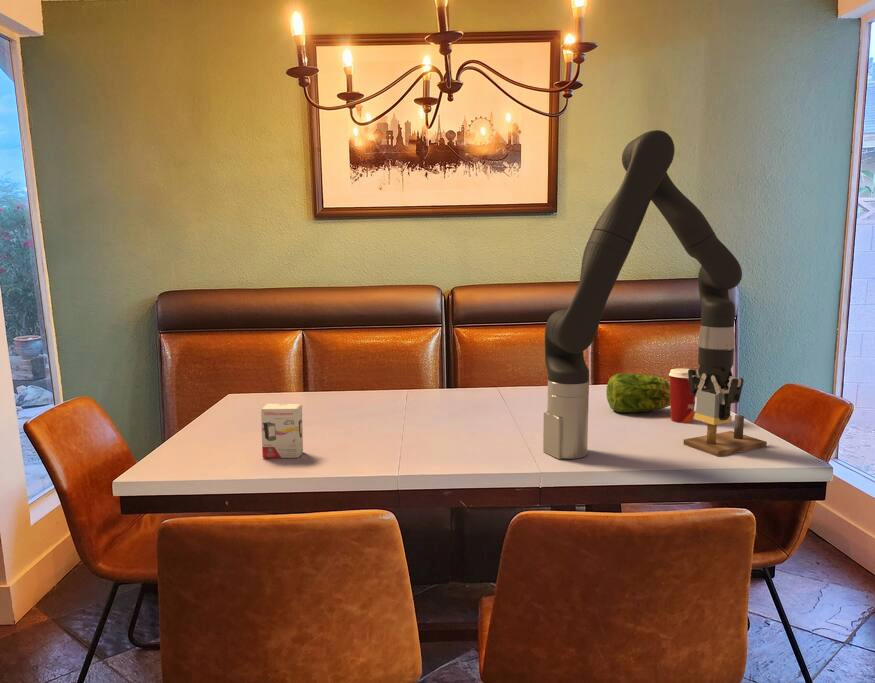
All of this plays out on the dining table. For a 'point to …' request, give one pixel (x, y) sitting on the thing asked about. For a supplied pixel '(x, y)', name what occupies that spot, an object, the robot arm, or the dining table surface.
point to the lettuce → (637, 393)
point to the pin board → (725, 440)
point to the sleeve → (709, 407)
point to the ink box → (282, 431)
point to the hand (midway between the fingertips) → (712, 416)
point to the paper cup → (681, 396)
